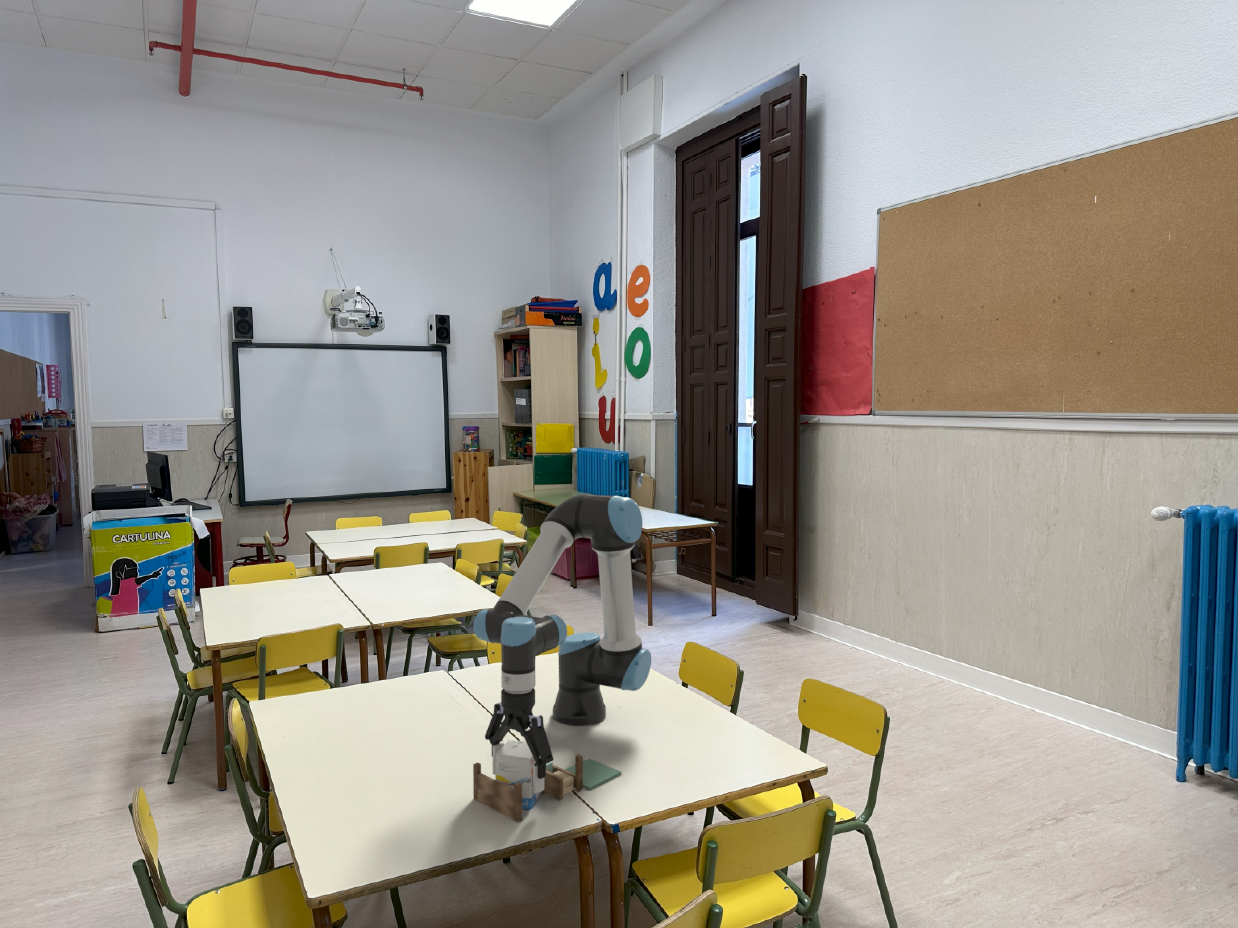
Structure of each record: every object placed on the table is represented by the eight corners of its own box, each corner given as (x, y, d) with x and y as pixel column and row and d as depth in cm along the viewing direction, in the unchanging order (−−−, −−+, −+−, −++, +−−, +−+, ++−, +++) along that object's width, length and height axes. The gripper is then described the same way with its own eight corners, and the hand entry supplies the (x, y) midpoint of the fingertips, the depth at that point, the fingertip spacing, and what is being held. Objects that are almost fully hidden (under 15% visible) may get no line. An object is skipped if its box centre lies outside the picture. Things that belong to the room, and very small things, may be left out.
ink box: (531, 810, 175) (531, 758, 174) (494, 806, 177) (494, 754, 176) (542, 791, 183) (542, 741, 183) (507, 787, 185) (507, 738, 184)
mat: (556, 775, 191) (556, 772, 191) (588, 760, 200) (588, 757, 200) (589, 790, 184) (589, 787, 184) (621, 773, 192) (621, 771, 192)
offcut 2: (544, 789, 185) (544, 776, 184) (559, 783, 188) (559, 770, 188) (559, 797, 181) (559, 783, 181) (573, 790, 184) (573, 777, 184)
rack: (473, 798, 180) (473, 764, 179) (538, 769, 195) (538, 737, 194) (517, 821, 170) (517, 785, 169) (582, 789, 185) (582, 755, 184)
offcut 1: (524, 772, 188) (524, 762, 188) (536, 766, 192) (536, 756, 192) (540, 778, 185) (540, 768, 185) (552, 772, 189) (552, 762, 188)
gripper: (469, 679, 184) (469, 770, 185) (544, 706, 167) (543, 805, 168) (495, 671, 189) (495, 759, 191) (569, 697, 173) (569, 793, 174)
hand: (517, 781), depth 179 cm, fingers open, 13 cm apart
